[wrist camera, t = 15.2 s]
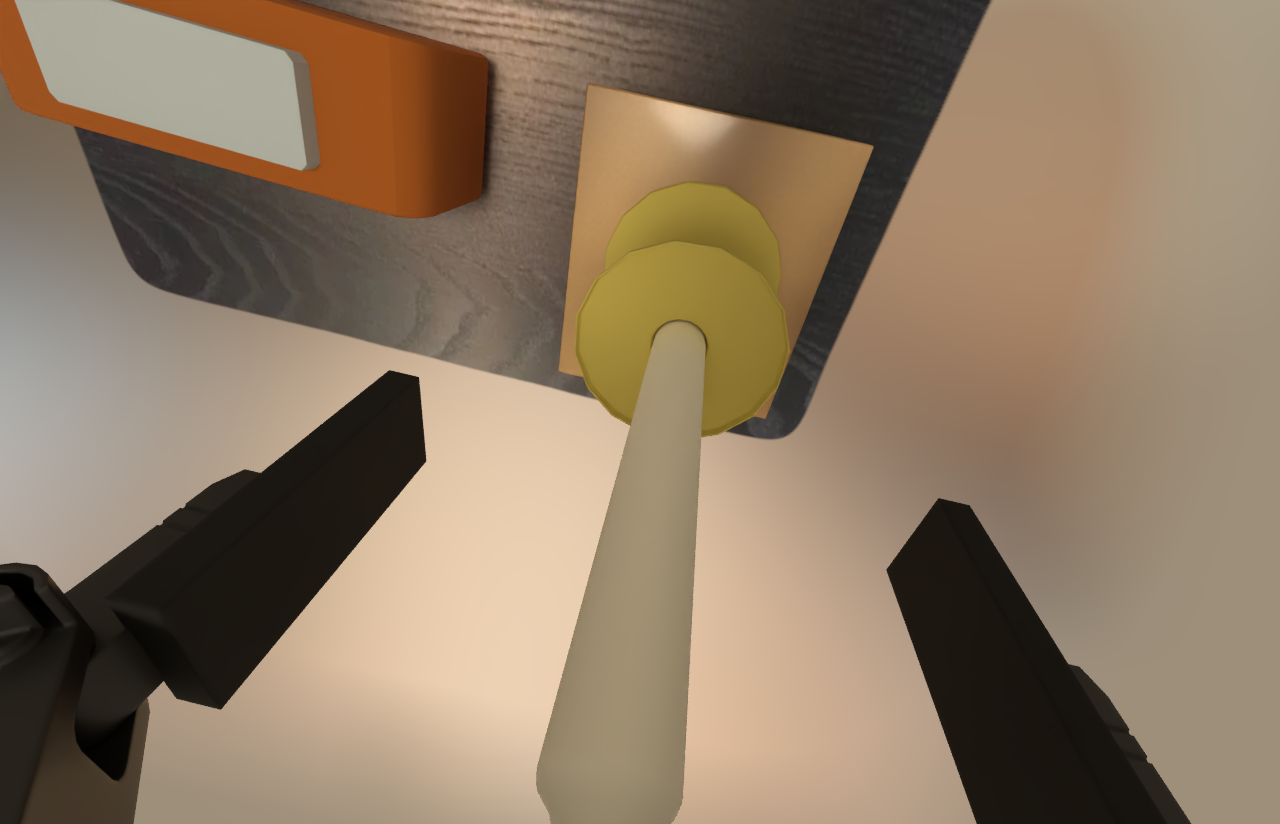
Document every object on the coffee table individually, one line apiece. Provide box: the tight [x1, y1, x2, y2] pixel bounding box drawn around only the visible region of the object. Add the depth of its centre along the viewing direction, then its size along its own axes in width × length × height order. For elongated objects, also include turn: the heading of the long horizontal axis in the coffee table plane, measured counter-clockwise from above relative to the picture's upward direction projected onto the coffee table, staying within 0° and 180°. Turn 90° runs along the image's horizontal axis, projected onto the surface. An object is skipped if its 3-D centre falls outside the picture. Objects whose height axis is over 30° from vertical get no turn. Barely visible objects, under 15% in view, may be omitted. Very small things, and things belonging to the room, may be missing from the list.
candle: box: [536, 181, 790, 824], centre depth 16 cm, size 10×10×27 cm
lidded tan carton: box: [559, 83, 873, 419], centre depth 31 cm, size 14×16×9 cm
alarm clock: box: [0, 0, 488, 218], centre depth 28 cm, size 24×8×11 cm, turn 76°
